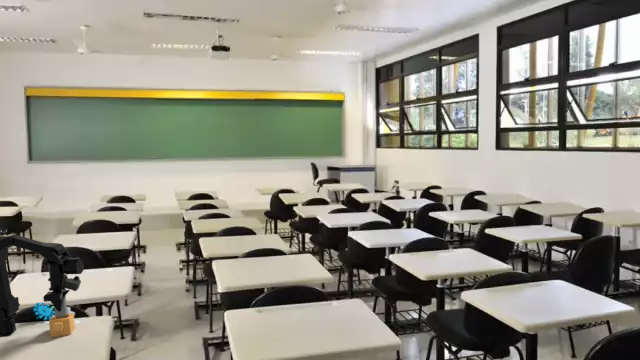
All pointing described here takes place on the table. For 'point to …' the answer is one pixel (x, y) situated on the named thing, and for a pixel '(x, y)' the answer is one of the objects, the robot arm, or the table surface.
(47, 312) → the gear
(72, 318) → the tan open box
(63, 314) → the wedge
